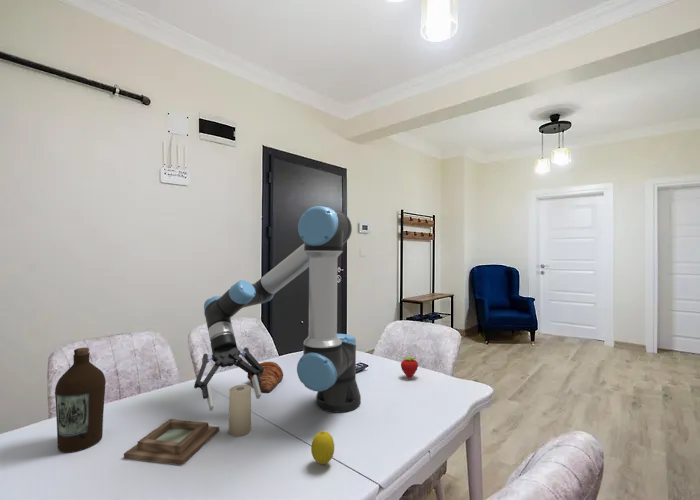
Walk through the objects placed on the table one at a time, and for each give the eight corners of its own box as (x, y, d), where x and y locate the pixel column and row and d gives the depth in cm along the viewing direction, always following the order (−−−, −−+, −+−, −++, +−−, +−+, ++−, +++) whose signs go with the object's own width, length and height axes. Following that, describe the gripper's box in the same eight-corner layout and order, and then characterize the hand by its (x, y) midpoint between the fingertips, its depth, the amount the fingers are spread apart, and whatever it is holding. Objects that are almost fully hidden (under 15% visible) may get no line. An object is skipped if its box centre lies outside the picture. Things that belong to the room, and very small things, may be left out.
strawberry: (397, 377, 140) (397, 353, 140) (412, 374, 143) (412, 350, 143) (406, 382, 135) (406, 356, 135) (421, 379, 138) (421, 354, 138)
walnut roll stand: (218, 430, 98) (218, 419, 98) (182, 465, 82) (182, 451, 82) (168, 426, 100) (168, 415, 100) (123, 458, 84) (123, 445, 84)
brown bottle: (69, 434, 95) (70, 344, 95) (112, 430, 98) (112, 342, 98) (44, 457, 85) (45, 356, 85) (93, 451, 87) (94, 353, 87)
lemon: (311, 458, 85) (311, 425, 85) (333, 457, 85) (334, 424, 85) (310, 472, 79) (311, 437, 79) (334, 471, 80) (334, 436, 80)
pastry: (295, 381, 136) (295, 361, 136) (267, 394, 123) (267, 372, 123) (265, 373, 145) (265, 354, 145) (236, 384, 132) (236, 364, 132)
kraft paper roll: (254, 426, 100) (254, 385, 100) (245, 437, 94) (245, 393, 94) (235, 424, 101) (235, 383, 101) (224, 435, 95) (225, 391, 95)
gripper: (257, 340, 120) (273, 398, 108) (178, 351, 106) (187, 419, 94) (262, 327, 116) (280, 386, 104) (181, 338, 102) (191, 407, 89)
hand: (236, 402), depth 99 cm, fingers open, 13 cm apart
